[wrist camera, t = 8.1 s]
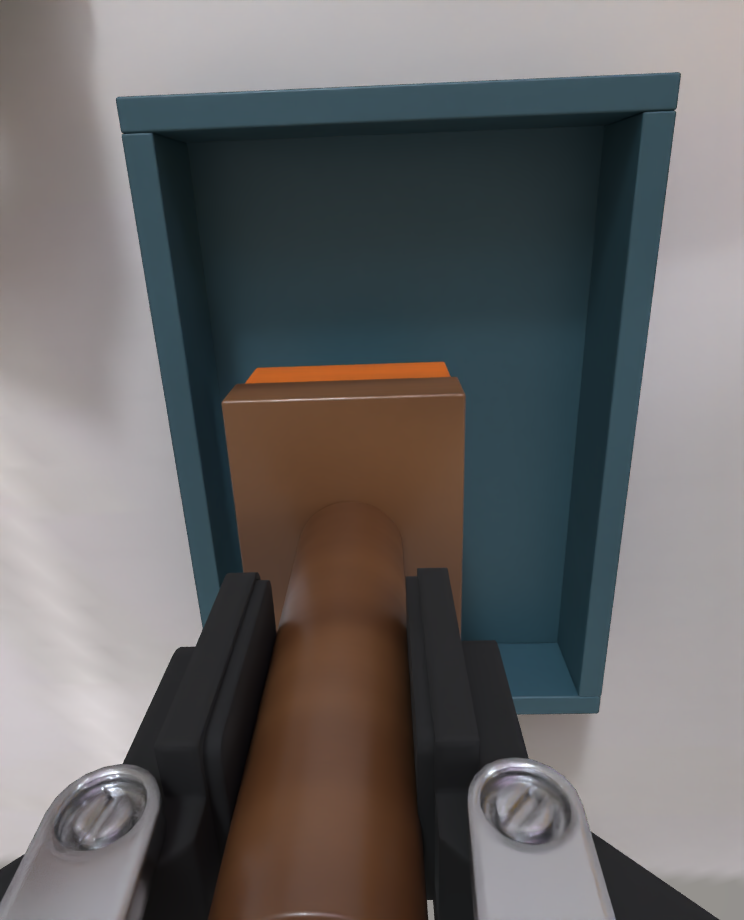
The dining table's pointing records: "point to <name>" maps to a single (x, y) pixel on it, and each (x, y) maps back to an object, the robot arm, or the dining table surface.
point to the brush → (338, 630)
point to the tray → (426, 309)
